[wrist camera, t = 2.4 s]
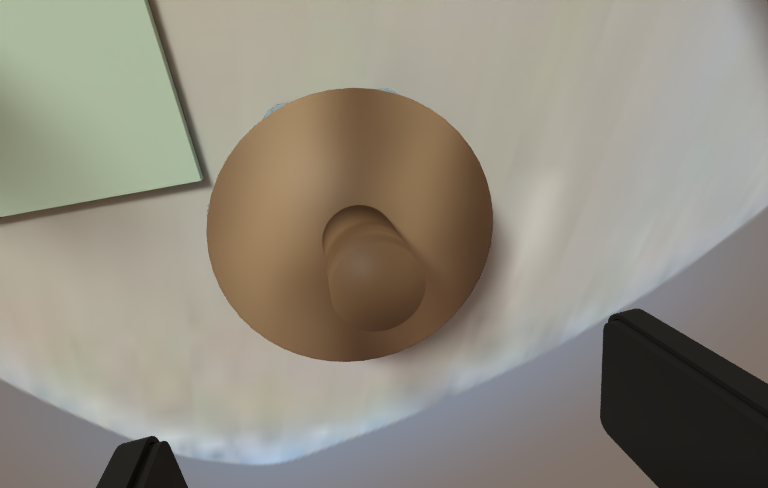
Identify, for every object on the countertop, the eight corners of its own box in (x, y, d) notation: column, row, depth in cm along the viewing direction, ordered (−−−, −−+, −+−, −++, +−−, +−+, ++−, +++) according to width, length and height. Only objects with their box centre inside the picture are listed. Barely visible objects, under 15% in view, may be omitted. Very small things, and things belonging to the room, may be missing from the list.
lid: (476, 66, 18) (554, 54, 12) (492, 320, 22) (554, 392, 17) (168, 115, 16) (103, 127, 11) (253, 378, 21) (237, 478, 15)
